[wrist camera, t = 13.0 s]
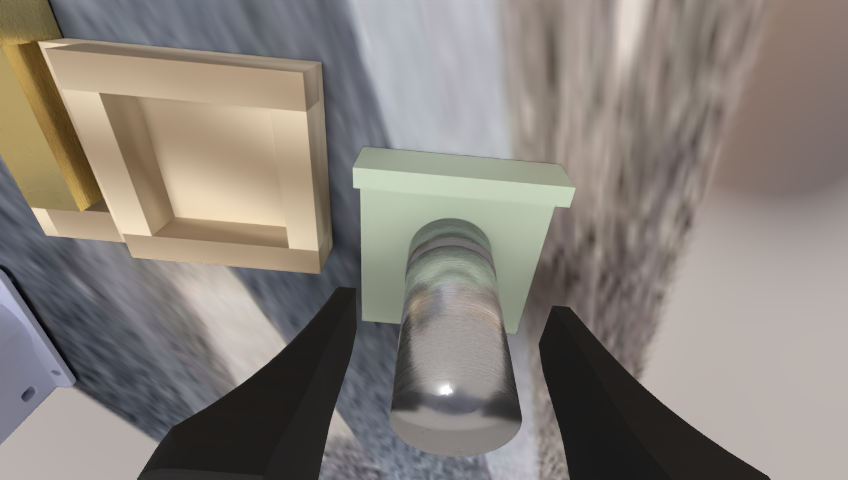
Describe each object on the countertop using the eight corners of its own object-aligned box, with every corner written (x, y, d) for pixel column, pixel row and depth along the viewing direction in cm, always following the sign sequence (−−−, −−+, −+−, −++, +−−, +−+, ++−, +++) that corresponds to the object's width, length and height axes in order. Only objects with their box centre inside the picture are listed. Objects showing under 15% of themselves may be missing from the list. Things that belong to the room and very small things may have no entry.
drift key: (122, 190, 17) (61, 228, 14) (65, 185, 17) (-6, 222, 14) (41, -15, 13) (-66, -18, 10) (-34, -23, 13) (-162, -27, 10)
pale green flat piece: (513, 322, 20) (520, 355, 18) (364, 309, 20) (357, 341, 18) (559, 164, 15) (575, 187, 14) (363, 146, 15) (352, 167, 13)
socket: (332, 245, 18) (320, 273, 16) (68, 221, 18) (25, 248, 16) (321, 61, 14) (302, 72, 12) (-29, 29, 14) (-103, 34, 12)
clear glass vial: (485, 287, 18) (511, 461, 11) (408, 283, 18) (388, 453, 11) (496, 220, 16) (535, 382, 9) (409, 215, 16) (385, 374, 9)
